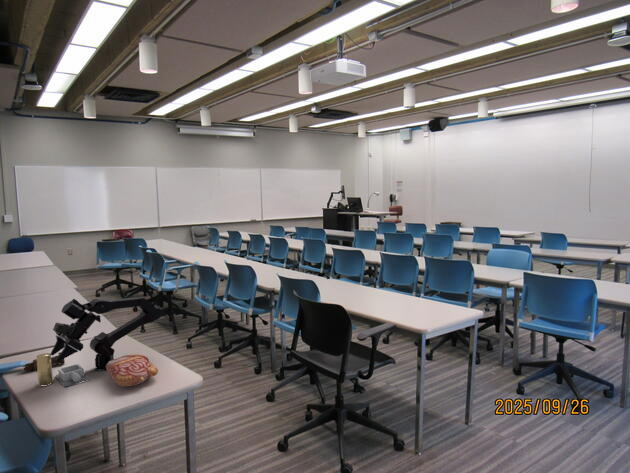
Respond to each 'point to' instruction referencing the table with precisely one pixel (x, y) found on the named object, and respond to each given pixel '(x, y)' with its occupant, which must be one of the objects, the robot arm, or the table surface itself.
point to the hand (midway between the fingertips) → (54, 357)
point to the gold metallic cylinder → (44, 369)
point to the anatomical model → (131, 369)
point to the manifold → (71, 375)
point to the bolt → (34, 364)
